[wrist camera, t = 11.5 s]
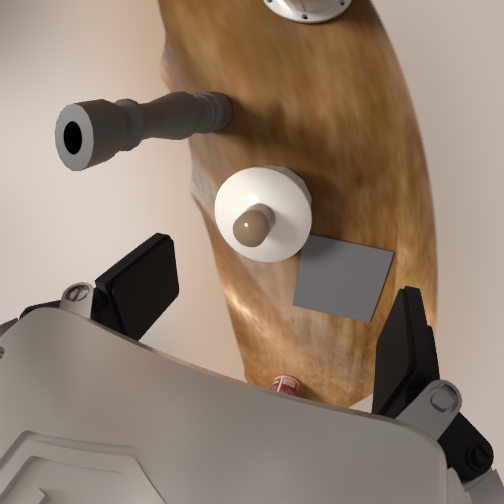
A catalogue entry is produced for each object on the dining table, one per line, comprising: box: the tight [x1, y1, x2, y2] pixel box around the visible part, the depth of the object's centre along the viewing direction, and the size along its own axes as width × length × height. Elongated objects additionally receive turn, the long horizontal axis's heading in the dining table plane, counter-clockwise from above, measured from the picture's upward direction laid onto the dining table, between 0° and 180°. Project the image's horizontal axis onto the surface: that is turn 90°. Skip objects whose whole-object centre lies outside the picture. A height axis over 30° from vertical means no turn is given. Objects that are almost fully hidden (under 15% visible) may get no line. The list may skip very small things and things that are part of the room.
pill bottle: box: [271, 375, 300, 397], centre depth 57 cm, size 6×6×11 cm
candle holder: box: [55, 92, 232, 171], centre depth 28 cm, size 6×6×25 cm
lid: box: [215, 167, 312, 262], centre depth 35 cm, size 13×13×5 cm
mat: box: [293, 234, 394, 322], centre depth 44 cm, size 14×14×1 cm
